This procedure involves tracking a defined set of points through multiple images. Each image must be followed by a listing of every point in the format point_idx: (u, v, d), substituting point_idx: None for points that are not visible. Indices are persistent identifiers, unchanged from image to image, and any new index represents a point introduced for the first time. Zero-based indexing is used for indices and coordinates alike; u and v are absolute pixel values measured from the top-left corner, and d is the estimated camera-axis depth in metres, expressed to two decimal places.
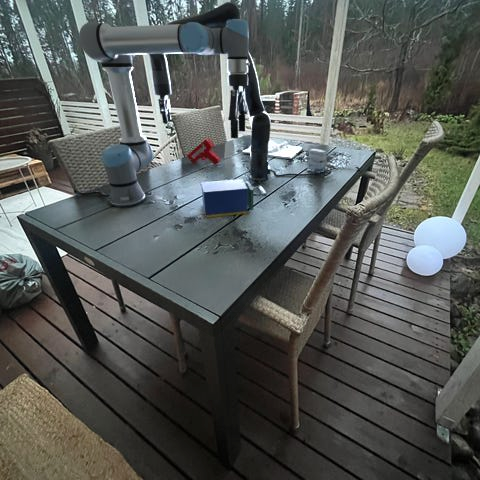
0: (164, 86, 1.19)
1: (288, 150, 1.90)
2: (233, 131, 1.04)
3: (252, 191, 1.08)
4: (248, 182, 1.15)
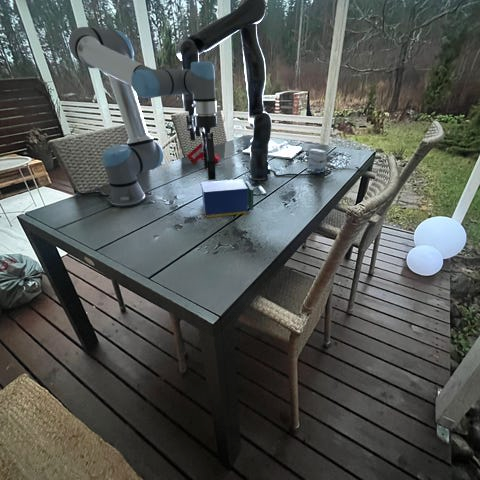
0: (193, 102, 1.12)
1: (288, 150, 1.90)
2: None
3: (252, 191, 1.08)
4: (248, 182, 1.15)
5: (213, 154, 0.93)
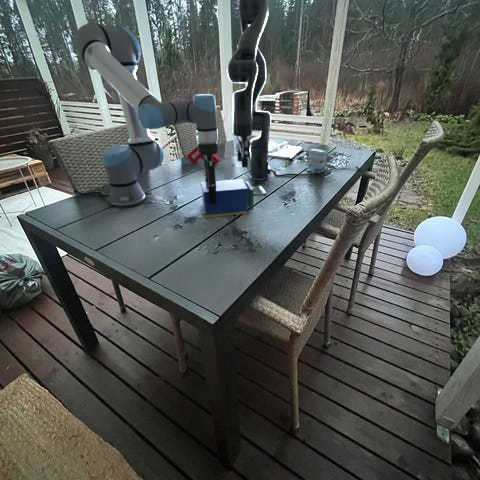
0: None
1: (288, 150, 1.90)
2: None
3: (252, 191, 1.08)
4: (248, 182, 1.15)
5: (214, 181, 0.99)
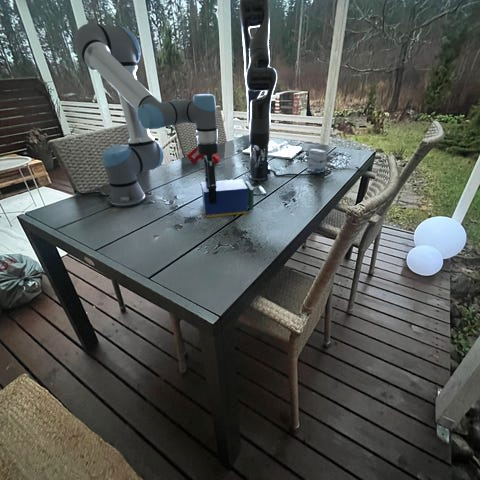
0: None
1: (288, 150, 1.90)
2: None
3: (252, 191, 1.08)
4: (248, 182, 1.15)
5: (214, 181, 0.99)
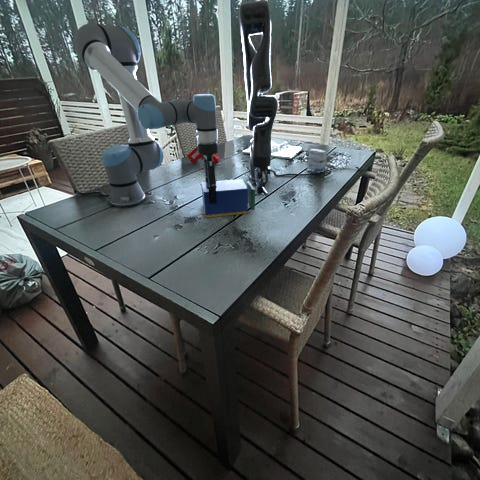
0: None
1: (288, 150, 1.90)
2: None
3: (254, 191, 1.09)
4: None
5: (214, 181, 0.99)
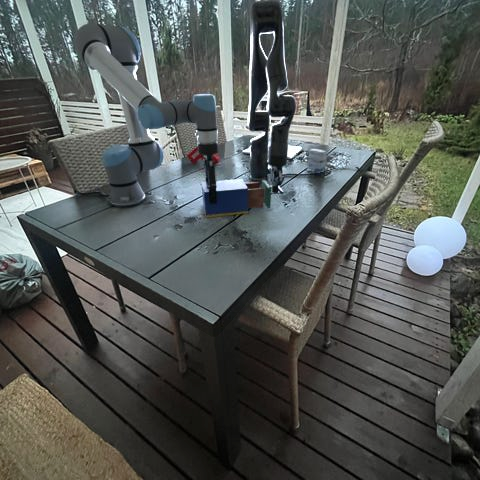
0: None
1: (288, 150, 1.90)
2: None
3: (270, 189, 1.10)
4: None
5: (214, 181, 0.99)
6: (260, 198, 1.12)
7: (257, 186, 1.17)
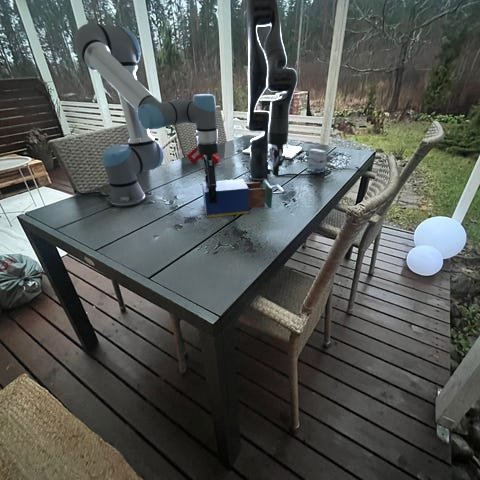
0: None
1: (288, 150, 1.90)
2: None
3: (271, 189, 1.10)
4: None
5: (214, 180, 0.98)
6: (261, 198, 1.12)
7: (258, 186, 1.17)
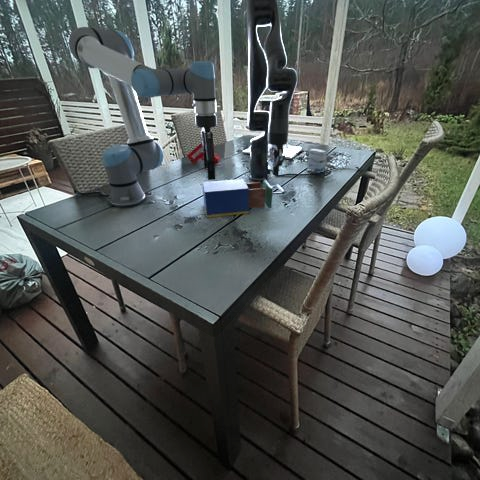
0: None
1: (288, 150, 1.90)
2: None
3: (271, 189, 1.10)
4: (266, 181, 1.16)
5: (213, 154, 0.93)
6: (261, 198, 1.12)
7: (258, 186, 1.17)
